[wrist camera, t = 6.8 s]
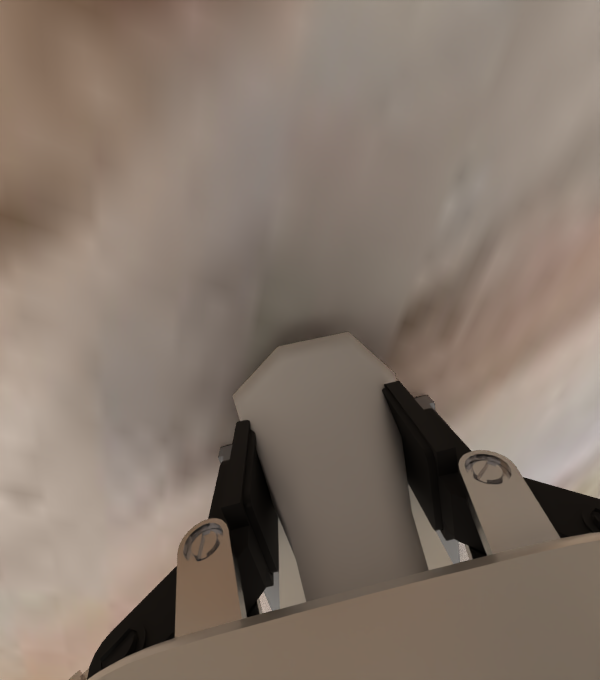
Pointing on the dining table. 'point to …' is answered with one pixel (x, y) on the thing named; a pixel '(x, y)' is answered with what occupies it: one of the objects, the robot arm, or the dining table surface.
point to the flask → (333, 463)
